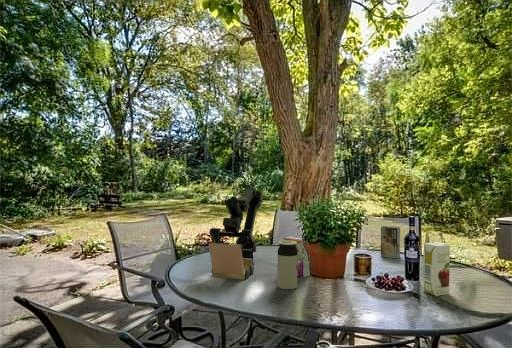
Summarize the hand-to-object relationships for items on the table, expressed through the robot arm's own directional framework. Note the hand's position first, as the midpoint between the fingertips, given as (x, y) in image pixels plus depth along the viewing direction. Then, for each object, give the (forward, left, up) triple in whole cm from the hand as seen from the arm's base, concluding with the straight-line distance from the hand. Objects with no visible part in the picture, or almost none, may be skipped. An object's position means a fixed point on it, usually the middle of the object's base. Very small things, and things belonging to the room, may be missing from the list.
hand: (226, 251), depth 161 cm
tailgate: (-1, -2, -10) cm, 10 cm away
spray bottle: (-32, -2, -12) cm, 34 cm away
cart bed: (-4, -8, -12) cm, 15 cm away
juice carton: (-77, +32, -12) cm, 84 cm away
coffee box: (-94, -27, -12) cm, 98 cm away
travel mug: (-23, +14, -12) cm, 29 cm away
